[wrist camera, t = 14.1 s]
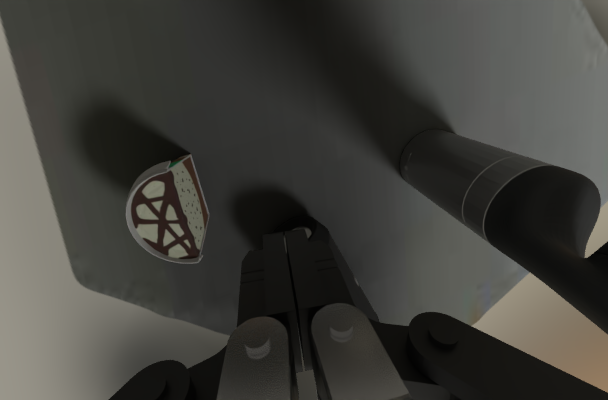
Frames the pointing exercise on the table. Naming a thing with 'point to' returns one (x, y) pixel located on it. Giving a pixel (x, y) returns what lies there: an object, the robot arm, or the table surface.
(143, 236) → the food container
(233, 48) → the table surface
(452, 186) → the robot arm
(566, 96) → the table surface
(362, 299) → the portable speaker
